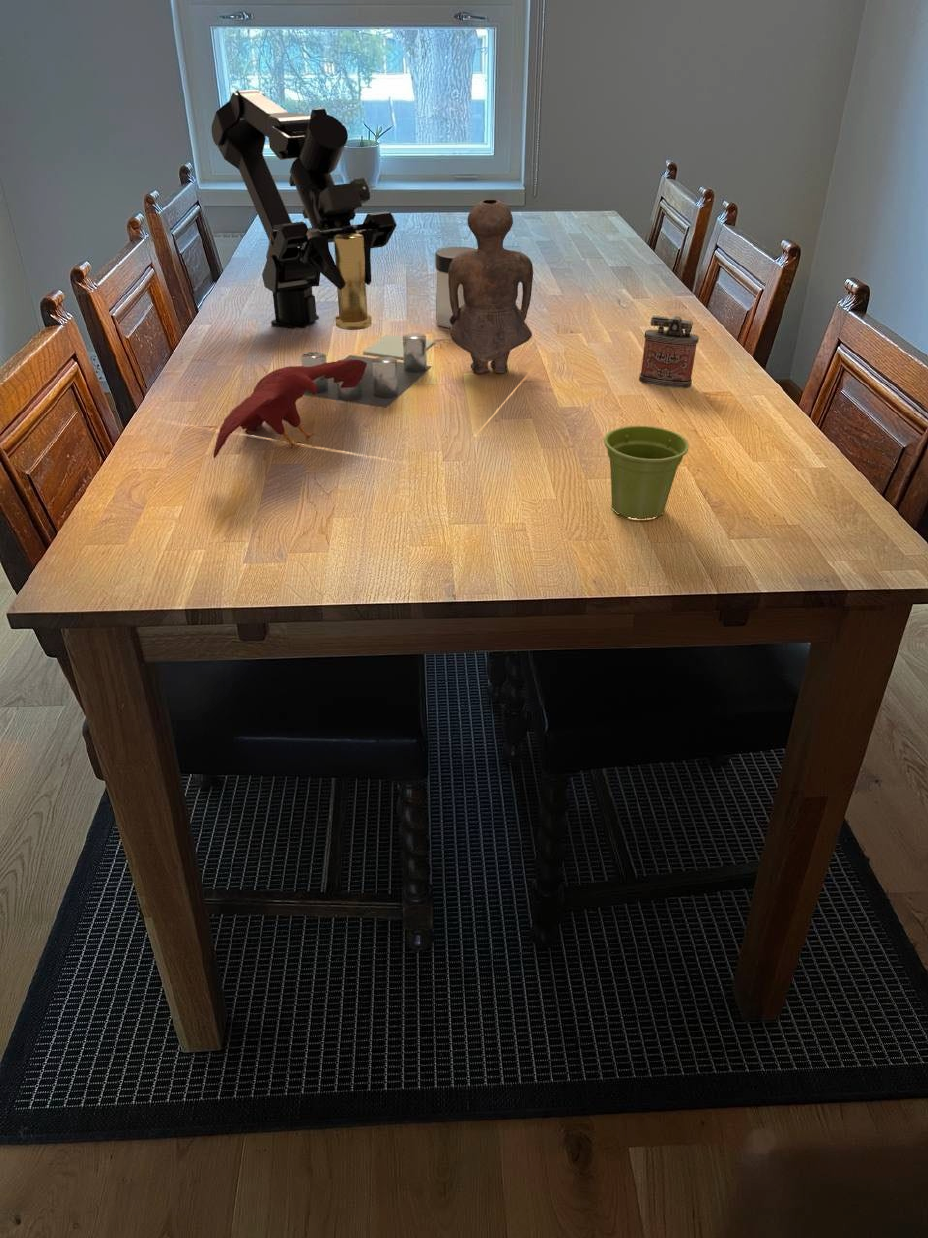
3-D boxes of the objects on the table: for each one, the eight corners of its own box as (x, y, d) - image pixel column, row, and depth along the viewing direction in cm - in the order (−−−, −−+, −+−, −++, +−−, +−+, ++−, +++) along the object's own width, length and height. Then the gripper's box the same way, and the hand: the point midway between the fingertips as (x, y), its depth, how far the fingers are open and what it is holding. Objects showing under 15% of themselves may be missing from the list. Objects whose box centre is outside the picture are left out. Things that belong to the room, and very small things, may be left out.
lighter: (692, 381, 142) (703, 317, 136) (689, 389, 139) (700, 323, 133) (640, 375, 144) (648, 311, 138) (637, 382, 141) (645, 317, 135)
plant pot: (590, 492, 111) (596, 425, 106) (665, 489, 112) (676, 423, 107) (606, 530, 104) (614, 460, 99) (687, 527, 105) (699, 458, 100)
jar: (449, 332, 160) (449, 260, 153) (425, 319, 165) (424, 250, 158) (491, 323, 164) (493, 253, 157) (466, 311, 169) (467, 243, 162)
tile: (363, 355, 150) (363, 351, 150) (385, 338, 157) (385, 334, 156) (413, 362, 147) (413, 358, 147) (434, 344, 154) (434, 341, 154)
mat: (297, 395, 136) (297, 393, 135) (349, 356, 149) (349, 354, 149) (386, 409, 132) (386, 407, 131) (431, 368, 145) (431, 366, 145)
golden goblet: (330, 327, 142) (323, 239, 134) (343, 316, 146) (338, 230, 139) (363, 331, 141) (359, 242, 133) (376, 320, 145) (373, 233, 138)
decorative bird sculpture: (206, 509, 116) (256, 447, 105) (159, 451, 115) (204, 383, 104) (344, 432, 136) (398, 373, 125) (305, 381, 135) (355, 318, 124)
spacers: (297, 393, 135) (294, 360, 133) (349, 354, 149) (347, 324, 146) (384, 406, 132) (383, 373, 129) (430, 366, 145) (429, 334, 142)
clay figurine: (527, 359, 149) (535, 193, 135) (532, 381, 141) (542, 207, 126) (447, 359, 149) (447, 192, 134) (448, 382, 141) (448, 207, 126)
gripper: (272, 163, 129) (312, 263, 128) (388, 153, 137) (427, 246, 136) (257, 212, 139) (294, 305, 138) (366, 200, 147) (402, 287, 146)
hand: (355, 285), depth 139 cm, fingers closed on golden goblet, 4 cm apart
